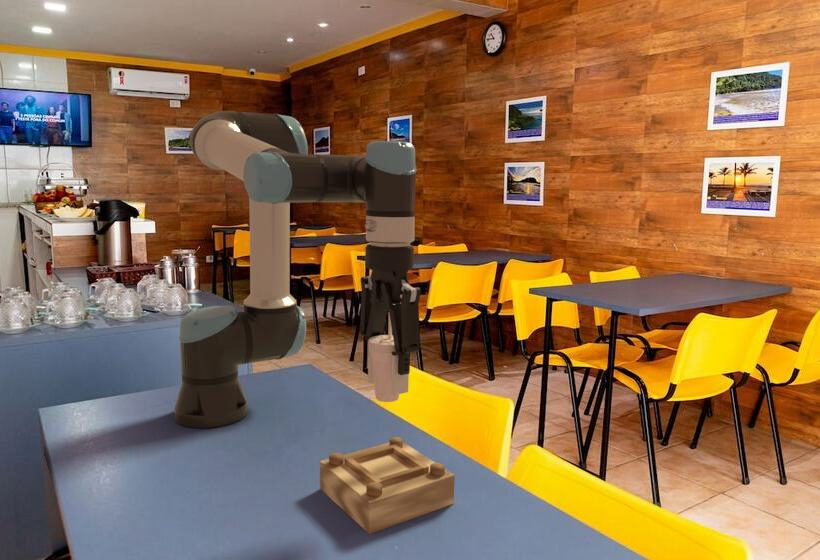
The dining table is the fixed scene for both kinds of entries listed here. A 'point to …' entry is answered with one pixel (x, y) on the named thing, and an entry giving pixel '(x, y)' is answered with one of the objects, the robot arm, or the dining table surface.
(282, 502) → the dining table surface
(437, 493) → the base brick
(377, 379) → the smoothie
